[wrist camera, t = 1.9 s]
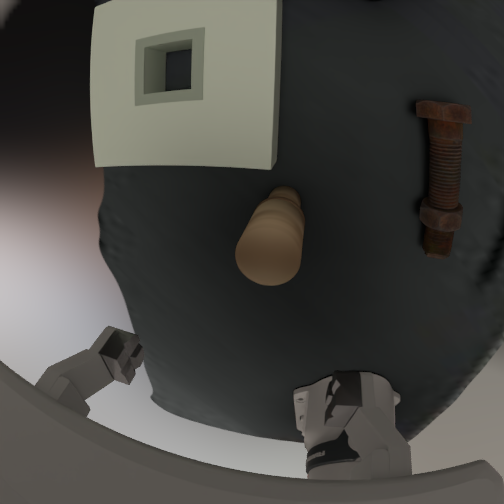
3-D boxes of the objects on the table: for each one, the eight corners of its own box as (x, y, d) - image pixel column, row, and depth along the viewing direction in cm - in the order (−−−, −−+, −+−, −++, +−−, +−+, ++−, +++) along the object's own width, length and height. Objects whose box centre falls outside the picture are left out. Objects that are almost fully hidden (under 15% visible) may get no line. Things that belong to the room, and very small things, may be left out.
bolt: (419, 236, 28) (421, 99, 20) (459, 245, 25) (469, 105, 17) (408, 261, 24) (412, 99, 17) (454, 274, 21) (471, 106, 14)
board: (276, 160, 26) (270, 170, 22) (117, 158, 28) (94, 167, 25) (282, -14, 17) (276, -32, 13) (117, 13, 19) (94, 7, 16)
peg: (304, 224, 28) (297, 290, 19) (261, 219, 29) (234, 281, 19) (308, 182, 26) (305, 231, 17) (263, 178, 27) (234, 223, 17)
